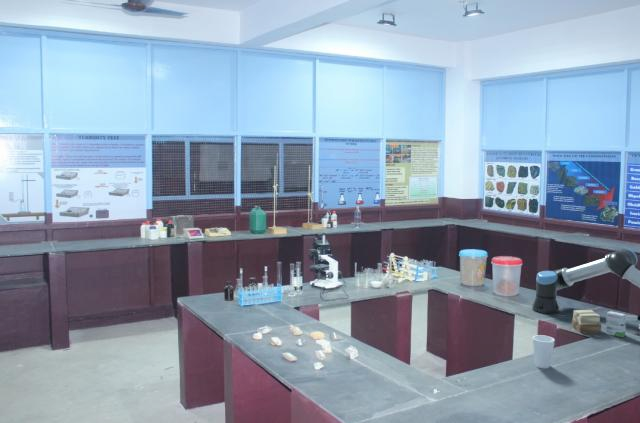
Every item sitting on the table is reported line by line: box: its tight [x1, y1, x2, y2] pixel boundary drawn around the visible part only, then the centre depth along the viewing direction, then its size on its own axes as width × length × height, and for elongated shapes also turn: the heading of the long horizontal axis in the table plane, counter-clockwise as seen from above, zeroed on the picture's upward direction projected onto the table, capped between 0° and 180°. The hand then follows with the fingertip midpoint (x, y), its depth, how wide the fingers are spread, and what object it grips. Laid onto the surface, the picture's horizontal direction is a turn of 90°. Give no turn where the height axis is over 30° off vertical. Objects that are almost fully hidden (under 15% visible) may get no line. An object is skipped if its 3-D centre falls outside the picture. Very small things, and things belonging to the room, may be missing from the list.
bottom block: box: [571, 318, 602, 334], centre depth 310 cm, size 11×11×5 cm
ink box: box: [605, 310, 627, 338], centre depth 301 cm, size 9×5×12 cm, turn 43°
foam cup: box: [532, 334, 555, 369], centre depth 261 cm, size 10×9×13 cm
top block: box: [572, 309, 601, 325], centre depth 309 cm, size 10×10×5 cm
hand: (632, 322), depth 301 cm, fingers open, 13 cm apart
